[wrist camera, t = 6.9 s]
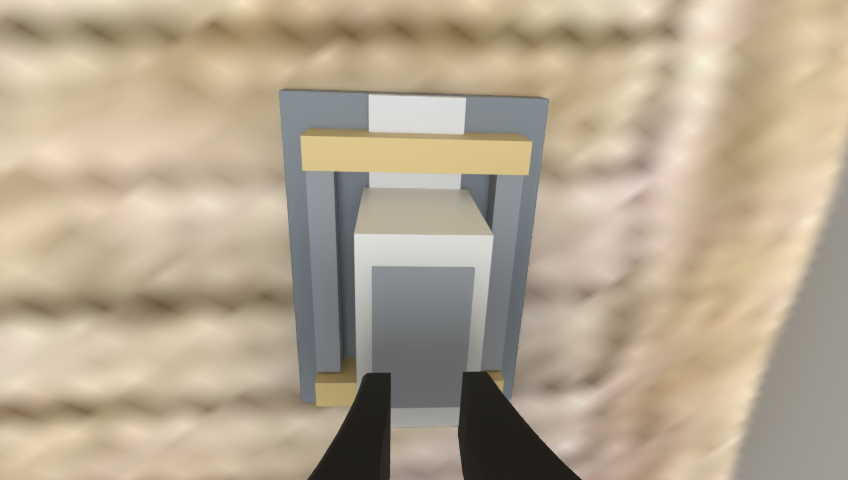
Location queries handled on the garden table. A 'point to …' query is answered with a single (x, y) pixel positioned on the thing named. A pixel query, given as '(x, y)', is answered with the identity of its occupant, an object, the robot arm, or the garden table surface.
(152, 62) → the garden table surface
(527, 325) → the garden table surface
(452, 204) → the block
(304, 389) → the rail base
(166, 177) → the garden table surface
